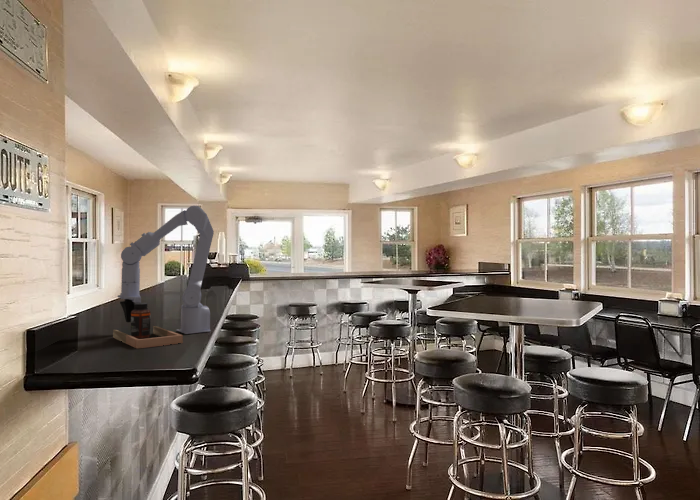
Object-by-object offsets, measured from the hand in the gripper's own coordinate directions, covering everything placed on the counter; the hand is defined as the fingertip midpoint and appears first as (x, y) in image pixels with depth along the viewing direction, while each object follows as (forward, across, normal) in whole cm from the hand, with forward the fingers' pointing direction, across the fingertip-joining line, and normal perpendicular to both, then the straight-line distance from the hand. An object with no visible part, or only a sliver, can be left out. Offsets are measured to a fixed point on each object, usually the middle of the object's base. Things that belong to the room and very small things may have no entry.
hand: (129, 321), depth 175 cm
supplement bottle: (+4, +10, 0) cm, 11 cm away
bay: (+4, +15, 0) cm, 15 cm away
